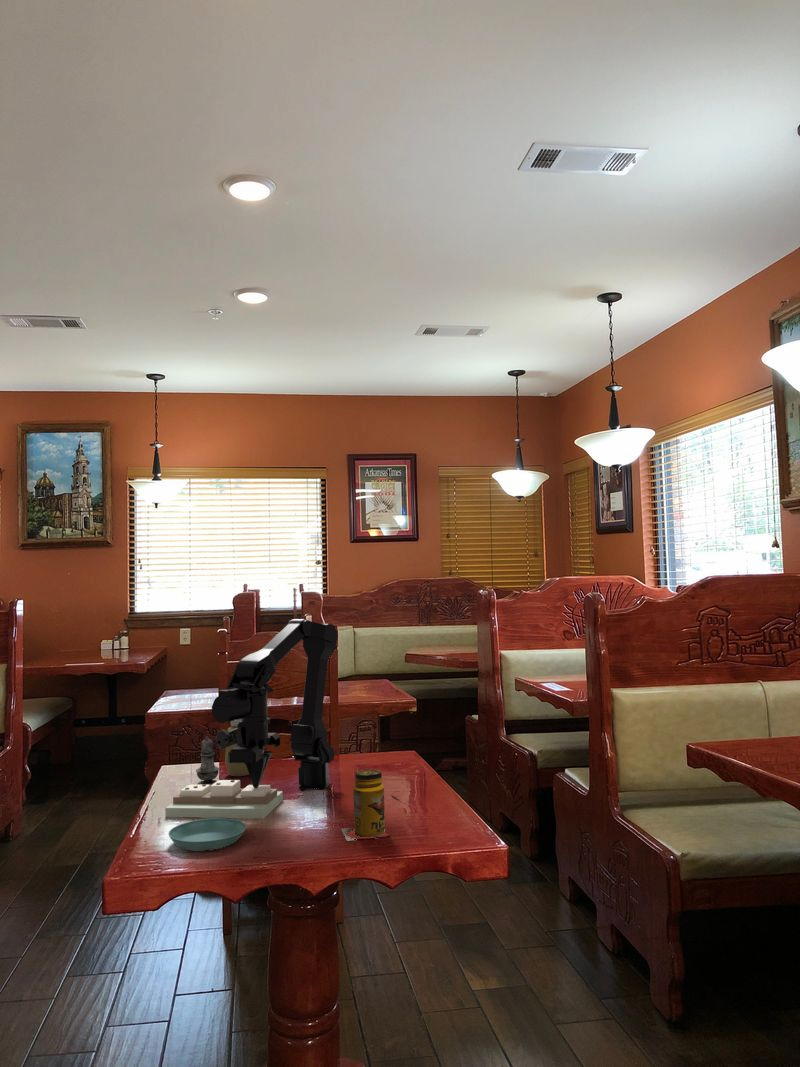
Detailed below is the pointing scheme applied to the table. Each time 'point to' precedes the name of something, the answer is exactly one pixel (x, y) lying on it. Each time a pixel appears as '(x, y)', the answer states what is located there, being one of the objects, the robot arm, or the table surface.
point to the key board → (224, 806)
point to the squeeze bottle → (235, 768)
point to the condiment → (368, 805)
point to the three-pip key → (195, 790)
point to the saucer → (207, 834)
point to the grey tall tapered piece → (207, 764)
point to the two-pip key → (225, 788)
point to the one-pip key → (255, 791)
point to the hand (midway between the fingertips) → (256, 786)
